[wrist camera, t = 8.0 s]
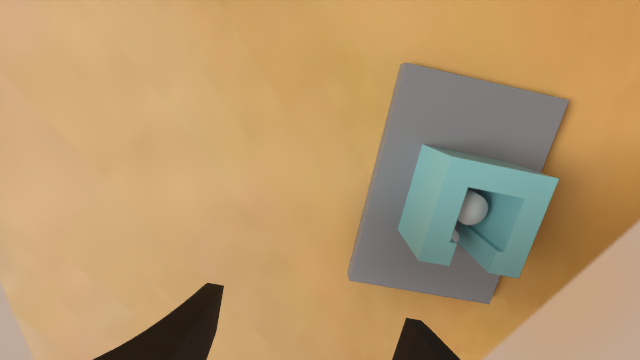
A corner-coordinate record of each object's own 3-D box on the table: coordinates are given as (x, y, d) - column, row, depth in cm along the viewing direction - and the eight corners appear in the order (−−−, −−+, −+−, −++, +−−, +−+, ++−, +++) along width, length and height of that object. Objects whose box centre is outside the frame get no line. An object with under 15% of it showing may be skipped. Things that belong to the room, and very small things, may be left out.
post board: (481, 295, 23) (511, 330, 19) (347, 272, 22) (354, 303, 19) (556, 99, 19) (608, 100, 16) (400, 64, 19) (420, 57, 15)
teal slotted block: (422, 144, 19) (450, 156, 15) (509, 162, 19) (558, 178, 15) (397, 229, 20) (418, 260, 16) (479, 244, 21) (518, 278, 17)
